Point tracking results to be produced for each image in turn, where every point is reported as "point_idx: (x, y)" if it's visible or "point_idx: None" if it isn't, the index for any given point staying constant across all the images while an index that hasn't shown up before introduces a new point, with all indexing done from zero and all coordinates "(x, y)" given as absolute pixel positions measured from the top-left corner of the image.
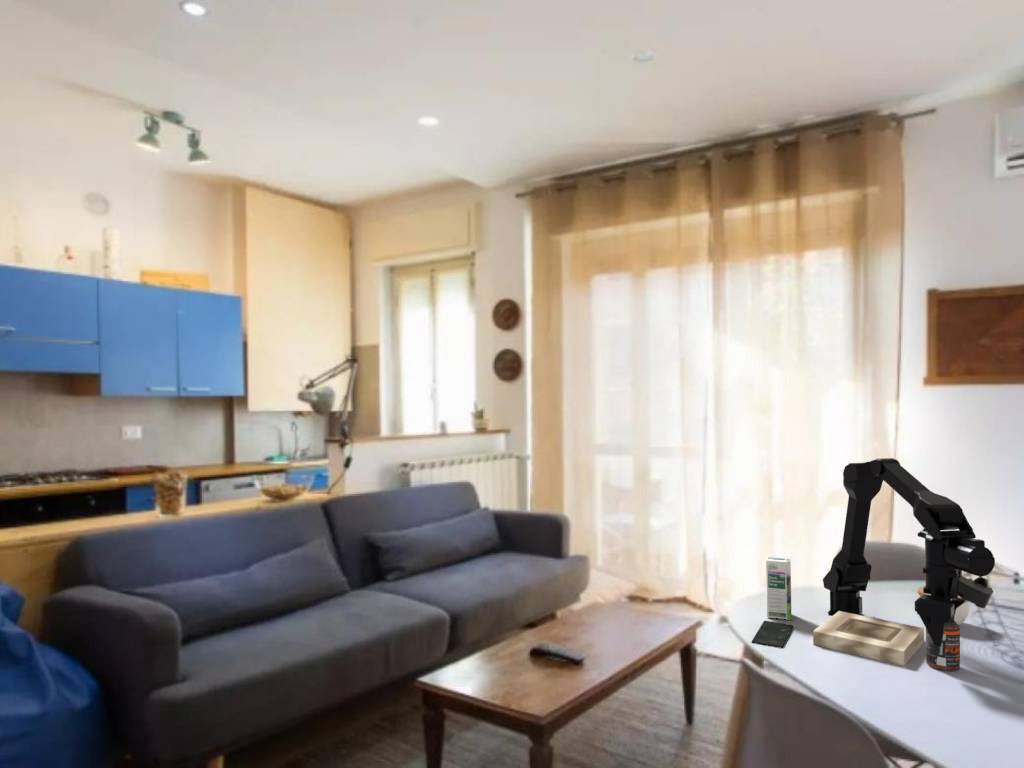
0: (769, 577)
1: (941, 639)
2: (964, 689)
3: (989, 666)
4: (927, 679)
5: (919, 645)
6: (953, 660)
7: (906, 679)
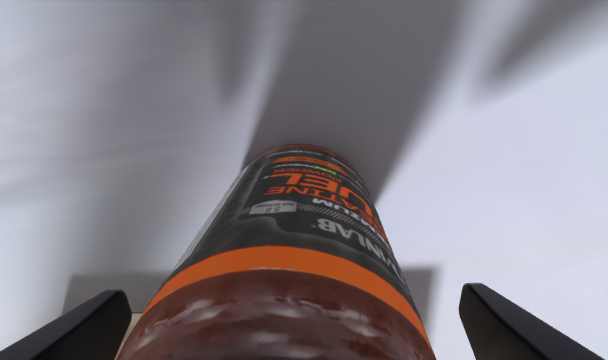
0: None
1: (547, 324)
2: (556, 67)
3: (119, 34)
4: (508, 219)
5: (137, 317)
6: (353, 176)
7: (553, 274)
